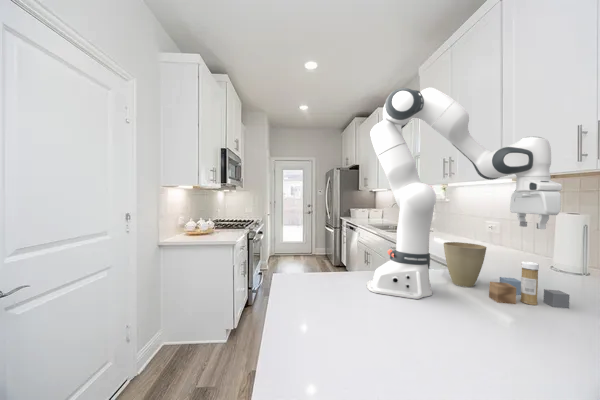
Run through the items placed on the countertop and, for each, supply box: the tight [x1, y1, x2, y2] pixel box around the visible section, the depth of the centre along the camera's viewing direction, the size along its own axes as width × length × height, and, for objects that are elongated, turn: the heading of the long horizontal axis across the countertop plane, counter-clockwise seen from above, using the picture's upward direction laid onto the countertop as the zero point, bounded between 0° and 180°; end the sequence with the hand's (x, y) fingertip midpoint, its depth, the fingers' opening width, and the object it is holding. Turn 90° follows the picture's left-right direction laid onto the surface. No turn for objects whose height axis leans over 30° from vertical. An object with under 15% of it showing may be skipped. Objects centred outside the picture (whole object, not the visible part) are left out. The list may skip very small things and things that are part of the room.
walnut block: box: [488, 281, 517, 305], centre depth 96 cm, size 6×6×6 cm
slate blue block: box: [498, 276, 521, 296], centre depth 105 cm, size 5×5×5 cm
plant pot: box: [443, 241, 487, 288], centre depth 113 cm, size 15×15×16 cm
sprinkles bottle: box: [519, 261, 540, 306], centre depth 94 cm, size 5×5×14 cm
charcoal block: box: [543, 288, 570, 309], centre depth 93 cm, size 4×4×4 cm
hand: (531, 227), depth 94 cm, fingers open, 8 cm apart
